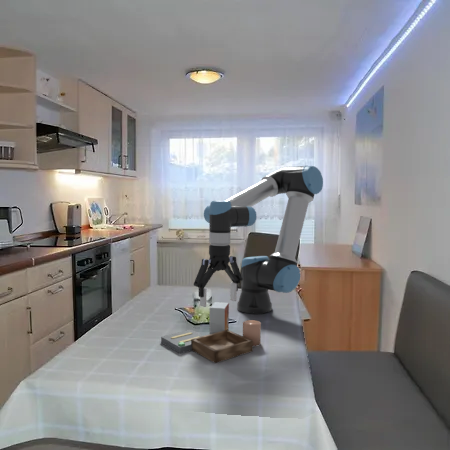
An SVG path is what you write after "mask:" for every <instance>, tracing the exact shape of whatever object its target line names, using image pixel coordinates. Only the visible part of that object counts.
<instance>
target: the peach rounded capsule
mask: <svg viewBox="0 0 450 450" xmlns="http://www.w3.org/2000/svg"><path fill="white" fill-rule="evenodd" d="M261 325H262V323H261V322H260V321H259V320H255V319H254V320H253V319H250V320H244V321H243V322H242V336H243V337H246V338H248V339H250V340H253V347H259V346H260V345H261V332H262V331H261V328H262V326H261Z"/></svg>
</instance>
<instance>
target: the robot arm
mask: <svg viewBox="0 0 450 450" xmlns="http://www.w3.org/2000/svg"><path fill="white" fill-rule="evenodd" d="M323 187H324V179H323V175H322V172H321V170H320V169H319V168H318V167H316V166H314V165H302V166H301V165H299V166H286V167H285V166H284V167H282V168H279V169H276V170H274V171H273V172H270V173H269V174H267V175H264V176H263V177H262V178H261V180H260V181H259V182H257V183H255V184H253V185H251V186H250V187H248V188H245V189H244V190H242V191H239V192H238V193H237V194H234V195H233V196H231V197H229V198H227V199H226V200H225V199H224V200H211V201H210V203H209V205H207V206H206V207H205V209H204V210H203V218H204V220H205V222H206V223H208V224H209V230H208V231H209V233H208V234H209V239H208V242H209V245H208V256H209V258H207V259H206V258H202V259H201V264H200V267H199V269H198V272H197V275H196V277H195V279H194V282H193V286H195V287H196V288H197V289H198V297H199V306H201V307H203V308H206V307H207V287H206V286H207V285H208V282H210V280H211V278H212V277H213V275H214V274H215V273H216V272H220V271H224V272H225V274H226V275H227V276H228V278H229V279H230V280H231V282H229V283H230V284H229V285H230V287H229V288H230V291H229V292H230V293H229V301H233V302H237V305H236V306H237V307H236V309H237V310H238V312H242V313H245V314H253V315H255V314H257V315H258V314H261V315H262V314H266V313H267V314H268V313H270V312H272V310H273V303H272V302H271V298H270V293H269V290H270V291H273V292H276V293H283V294H284V293H285V294H288V293H290V292H292V291H293V290H295V289H296V288H297V287H298V285H299V283H300V280H301V273H300V272H301V270H300V268H299V267H298V261H297V259H296V256H297V251H298V248H299V247H298V246H299V243H300V239H301V235H302V231H303V227H304V224H305V223H304V222H305V219H306V215H307V211H308V207H309V203H311V202H313V201H314V198H315V195H317V194H319V193H321V192H322V189H323ZM281 194H286V196H287V198H288V200H287V203H286V207H285V211H284V214H283V219H282V222H281V227H280V231H279V234H278V239H277V243H276V245H275V248H274V249H275V251H274V252H273V253H271V254H270V255H269V256H267V255H258V256H257V255H256V256H255V255H254V256H248V257H243V259H242V260H241V267H240V268H241V270H240V268H239V266H238V262H237V256H232V255H231V245H230V244H231V234H232V233H231V230H232V228H233V227H235V228H237V227H238V228H239V227H243V228H244V227H246V228H247V227H250V226H254V225H255V223H256V221H257V212H256V209H255V208H254V207H253V206H255V205H257V204H259V203H261V202H262V201H264V200H266V199H267V198H269V197H272V198H273V197H276V196H277V195H281ZM229 264H230V265H229ZM240 283H241V285H240V286H241V291H240V294H239V298H238V301H237V292H238V290H239V284H240Z"/></svg>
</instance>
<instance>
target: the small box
mask: <svg viewBox="0 0 450 450" xmlns="http://www.w3.org/2000/svg"><path fill="white" fill-rule="evenodd" d="M229 305H230V303H229V302H221V301H220V302H219V301H214V302H213V303H212V305H210V307H209V327H208V328H209V331H208V332H209V334H213V333H217V332H221V331H224V330H229V329H230V327H229V321H230V320H229V318H230V317H229V314H230V312H229V310H230V306H229ZM229 331H230V330H229Z"/></svg>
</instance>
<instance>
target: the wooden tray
mask: <svg viewBox="0 0 450 450" xmlns="http://www.w3.org/2000/svg"><path fill="white" fill-rule="evenodd" d="M191 344H192V350H191V351H193V352H195V353H196V354H199V355H200V356H202V357H204V358H205V359H207V360H209V361H210V362H213V363H214V364H217V363H220V362H223V361H227V360H230V359H233V358H236V357H238V356H239V357H240V356H241V355H245V354H248V353H252V352H253V351H254V346H253V340H250V339H248V338H246V337H243V335H241V334H239V333H235V332H234V331H231V330H224V331H221V332H217V333H213V334H210V333H209V334H205V335H203V336H202V337H198V338H194V339H191Z"/></svg>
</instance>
